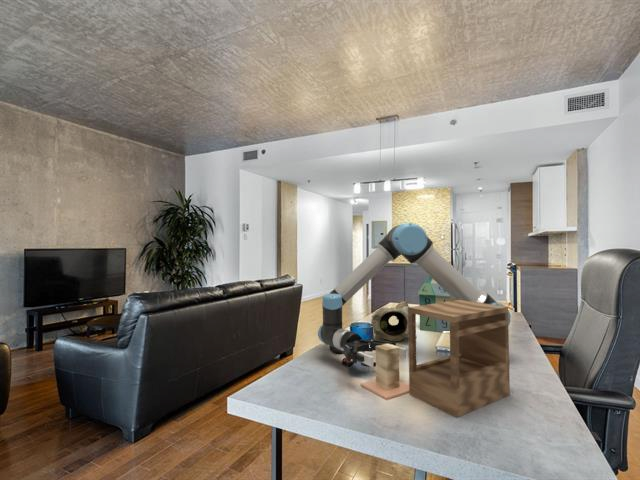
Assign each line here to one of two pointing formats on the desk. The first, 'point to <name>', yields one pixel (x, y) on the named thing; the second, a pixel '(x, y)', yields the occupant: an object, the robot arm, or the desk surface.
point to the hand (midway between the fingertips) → (389, 357)
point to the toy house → (432, 295)
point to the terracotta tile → (386, 393)
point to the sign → (350, 363)
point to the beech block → (387, 366)
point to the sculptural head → (385, 328)
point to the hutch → (463, 357)
